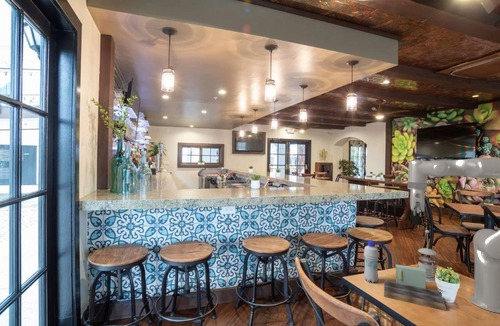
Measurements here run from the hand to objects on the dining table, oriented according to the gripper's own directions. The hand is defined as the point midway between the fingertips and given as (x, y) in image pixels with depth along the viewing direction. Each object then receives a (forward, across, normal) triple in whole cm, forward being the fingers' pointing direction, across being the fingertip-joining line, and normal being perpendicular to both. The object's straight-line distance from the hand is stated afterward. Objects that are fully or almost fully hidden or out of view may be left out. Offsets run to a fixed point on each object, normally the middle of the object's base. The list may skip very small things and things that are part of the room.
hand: (415, 222), depth 119 cm
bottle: (+32, -1, +18) cm, 37 cm away
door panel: (+32, +2, +1) cm, 32 cm away
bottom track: (+32, -9, +1) cm, 33 cm away
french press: (+32, +17, -8) cm, 37 cm away
